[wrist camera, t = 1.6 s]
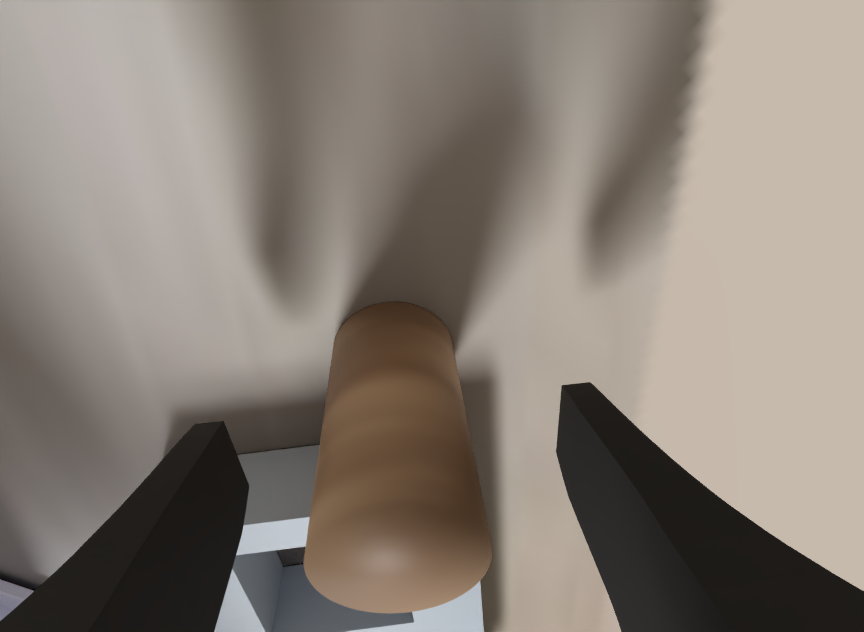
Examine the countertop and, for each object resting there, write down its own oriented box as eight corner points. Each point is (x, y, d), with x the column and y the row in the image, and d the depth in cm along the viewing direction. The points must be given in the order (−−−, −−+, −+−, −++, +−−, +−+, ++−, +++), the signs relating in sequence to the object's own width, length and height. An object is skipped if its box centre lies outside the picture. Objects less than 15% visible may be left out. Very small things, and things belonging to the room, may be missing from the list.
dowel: (307, 356, 14) (263, 572, 9) (391, 278, 13) (396, 471, 8) (395, 415, 15) (401, 631, 10) (476, 350, 14) (529, 554, 9)
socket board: (161, 464, 15) (125, 540, 13) (461, 426, 15) (474, 496, 13) (279, 679, 23) (268, 749, 21) (480, 652, 23) (490, 719, 21)
